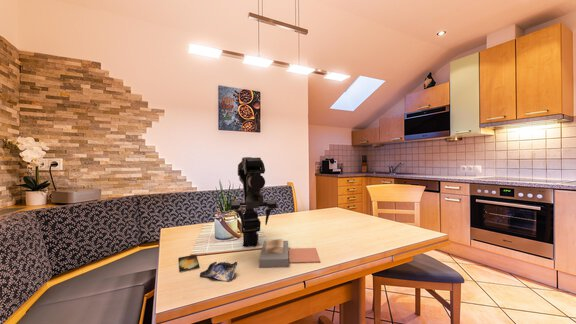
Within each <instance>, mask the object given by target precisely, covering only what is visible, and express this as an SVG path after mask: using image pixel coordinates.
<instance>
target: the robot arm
mask: <svg viewBox="0 0 576 324" xmlns="http://www.w3.org/2000/svg"><path fill="white" fill-rule="evenodd" d="M265 172H266V168H265V164H264V162H263V160H262V158H261V157H252V156H250V157H249V156H247V157H246V156H245V157H241V161H240V162H239V163H238V164H237V176H239V177H238V180H239V181H240V182H241V184H242V188H243V190H242V191H243V201H244V202H243V201H242V200H234V201H232V202H231V203H230V205H229V206H230V210H231V211H233V212H234V213H237V215H238V217H239V219H240V232H241V234H242V235H243V236H242V237H243V238H242V241H243V242H242V247H243V246H244V247H256V246H257V245H258V244H259V233H258V232H260V231H261V223H262V222H261V220H260V218H259V216H258V215H259V214H258V212H257V211H256V210H255V209H258V208H260V207H261V208H262V207H266V211H265V222H264V223H265V226H267V224H268V220H269V218H270V214H271V212H272V211H274V210H275V209H277V208H278V201H277V199H267V201H265V198H264V195H262V190H261V189H263V188H264V187H265V185H266V179H265V177H264V176H263V174H265Z"/></svg>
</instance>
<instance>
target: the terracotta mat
mask: <svg viewBox="0 0 576 324" xmlns="http://www.w3.org/2000/svg"><path fill="white" fill-rule="evenodd" d="M288 259H289V264H314V263H316V264H317V263H321V259H320V256H319V253H318V250H317V248H316V247H296V248H295V247H293V248H292V247H291V248H289V247H288Z"/></svg>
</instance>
